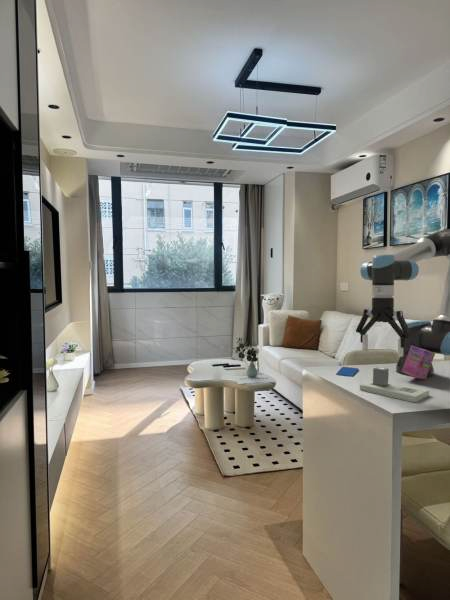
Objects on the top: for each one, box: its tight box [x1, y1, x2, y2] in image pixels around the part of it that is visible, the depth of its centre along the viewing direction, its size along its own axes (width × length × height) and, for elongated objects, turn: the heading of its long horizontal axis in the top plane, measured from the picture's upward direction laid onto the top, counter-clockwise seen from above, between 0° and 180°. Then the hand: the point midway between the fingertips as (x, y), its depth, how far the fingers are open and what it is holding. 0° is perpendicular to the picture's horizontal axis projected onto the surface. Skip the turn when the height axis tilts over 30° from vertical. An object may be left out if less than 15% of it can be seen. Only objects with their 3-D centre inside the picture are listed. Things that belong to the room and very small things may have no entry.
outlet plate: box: [359, 379, 430, 403], centre depth 142 cm, size 12×20×2 cm, turn 42°
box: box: [402, 345, 436, 380], centre depth 160 cm, size 10×6×12 cm, turn 128°
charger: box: [372, 366, 390, 387], centre depth 146 cm, size 4×4×8 cm
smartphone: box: [335, 366, 359, 377], centre depth 174 cm, size 7×1×15 cm
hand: (382, 353), depth 146 cm, fingers open, 13 cm apart
